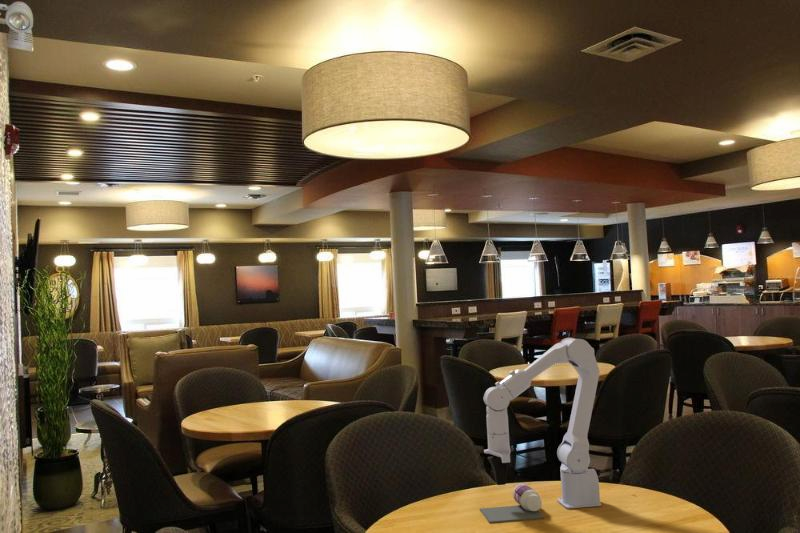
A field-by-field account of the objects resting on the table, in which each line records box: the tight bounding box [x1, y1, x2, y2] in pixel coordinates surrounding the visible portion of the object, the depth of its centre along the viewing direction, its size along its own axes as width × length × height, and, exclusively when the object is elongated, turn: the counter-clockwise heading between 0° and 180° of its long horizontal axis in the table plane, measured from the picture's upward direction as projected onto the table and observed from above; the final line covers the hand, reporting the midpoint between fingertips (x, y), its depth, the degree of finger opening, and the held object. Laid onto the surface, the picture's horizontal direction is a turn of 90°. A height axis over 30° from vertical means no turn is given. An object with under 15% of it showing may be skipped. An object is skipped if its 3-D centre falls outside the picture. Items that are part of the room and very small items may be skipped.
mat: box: [479, 504, 545, 524], centre depth 172 cm, size 14×11×1 cm
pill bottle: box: [512, 483, 543, 511], centre depth 175 cm, size 5×5×10 cm
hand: (500, 484), depth 178 cm, fingers closed
